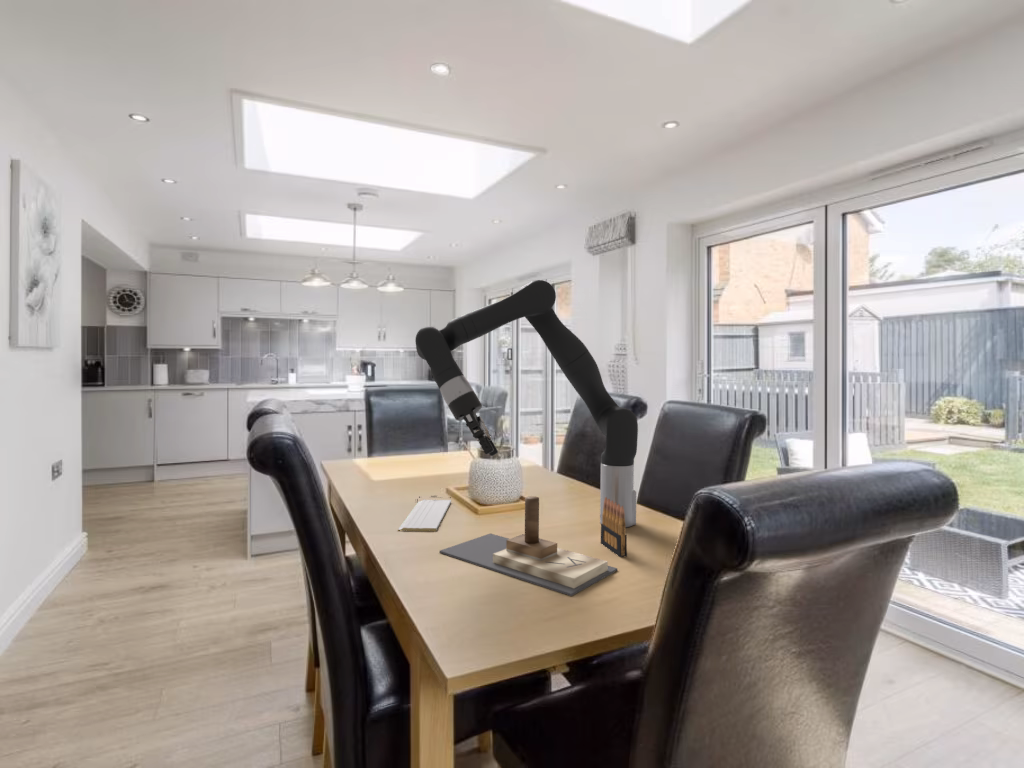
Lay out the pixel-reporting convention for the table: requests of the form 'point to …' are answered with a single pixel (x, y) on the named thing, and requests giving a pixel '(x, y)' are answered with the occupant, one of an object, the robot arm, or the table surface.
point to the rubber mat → (482, 555)
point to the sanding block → (531, 535)
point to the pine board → (555, 566)
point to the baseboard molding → (426, 515)
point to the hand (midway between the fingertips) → (492, 453)
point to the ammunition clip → (614, 528)
